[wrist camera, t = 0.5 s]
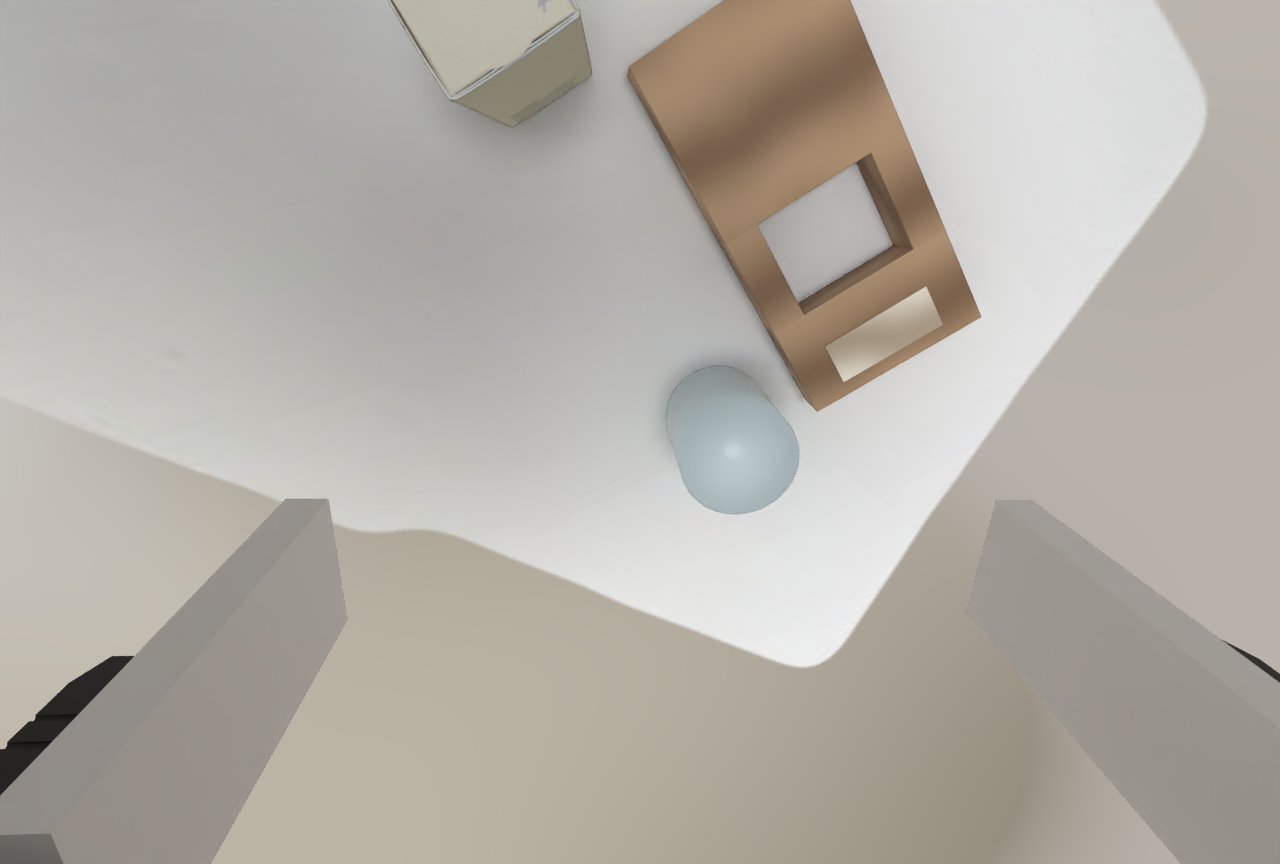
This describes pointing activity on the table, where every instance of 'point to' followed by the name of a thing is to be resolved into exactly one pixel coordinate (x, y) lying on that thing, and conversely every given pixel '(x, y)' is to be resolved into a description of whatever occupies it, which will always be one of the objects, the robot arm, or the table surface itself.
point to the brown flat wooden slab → (805, 180)
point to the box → (499, 51)
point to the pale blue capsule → (730, 441)
